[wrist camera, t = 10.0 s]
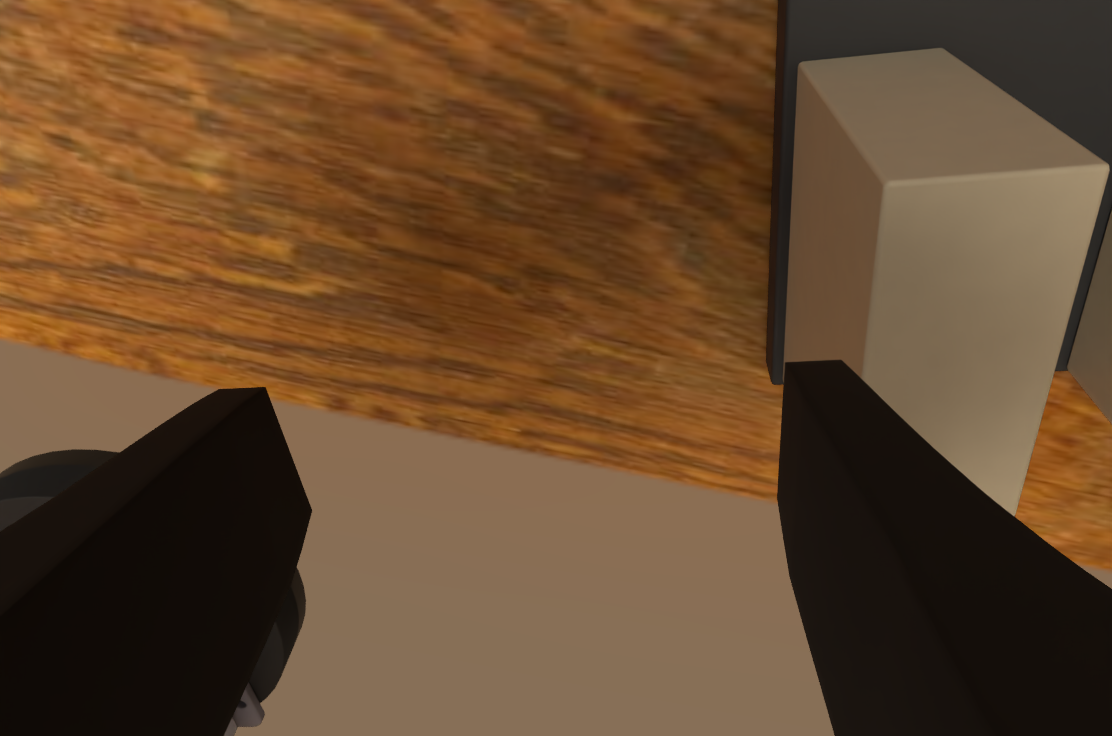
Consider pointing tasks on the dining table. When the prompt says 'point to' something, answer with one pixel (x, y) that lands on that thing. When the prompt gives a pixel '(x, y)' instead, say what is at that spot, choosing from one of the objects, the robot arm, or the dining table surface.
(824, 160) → the taupe rectangular block
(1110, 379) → the beige upright block
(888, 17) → the shelf board
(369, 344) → the dining table surface
